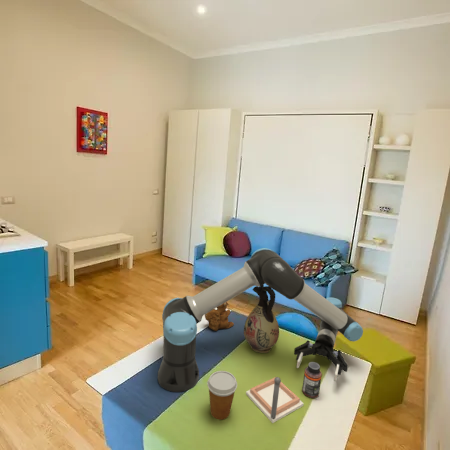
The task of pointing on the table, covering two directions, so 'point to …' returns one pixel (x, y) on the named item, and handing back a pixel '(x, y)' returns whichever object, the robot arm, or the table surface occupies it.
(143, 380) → the table surface
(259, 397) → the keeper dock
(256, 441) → the table surface
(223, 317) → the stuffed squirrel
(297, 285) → the robot arm
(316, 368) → the supplement bottle
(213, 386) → the disposable coffee cup
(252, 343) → the ceramic jug
